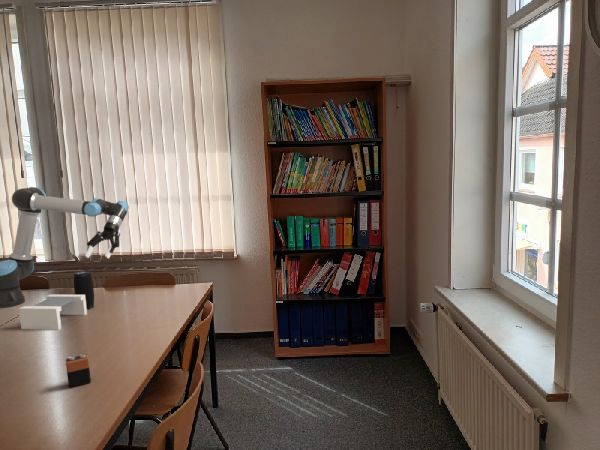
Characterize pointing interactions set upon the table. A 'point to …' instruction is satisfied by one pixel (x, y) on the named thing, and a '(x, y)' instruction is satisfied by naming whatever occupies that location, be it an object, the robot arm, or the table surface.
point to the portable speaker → (84, 286)
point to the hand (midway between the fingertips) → (96, 257)
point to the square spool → (51, 311)
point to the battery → (78, 370)
